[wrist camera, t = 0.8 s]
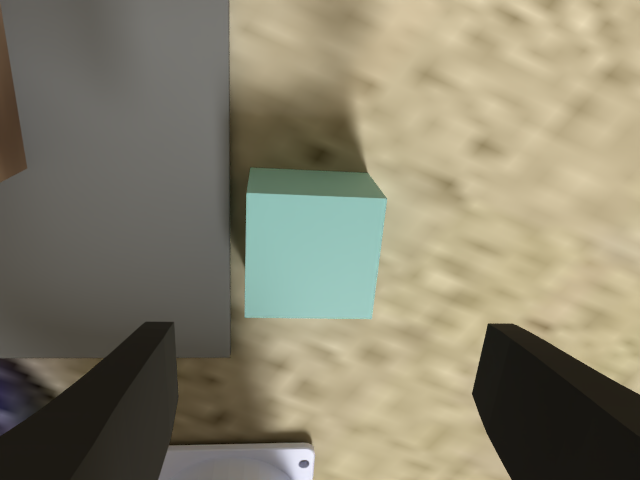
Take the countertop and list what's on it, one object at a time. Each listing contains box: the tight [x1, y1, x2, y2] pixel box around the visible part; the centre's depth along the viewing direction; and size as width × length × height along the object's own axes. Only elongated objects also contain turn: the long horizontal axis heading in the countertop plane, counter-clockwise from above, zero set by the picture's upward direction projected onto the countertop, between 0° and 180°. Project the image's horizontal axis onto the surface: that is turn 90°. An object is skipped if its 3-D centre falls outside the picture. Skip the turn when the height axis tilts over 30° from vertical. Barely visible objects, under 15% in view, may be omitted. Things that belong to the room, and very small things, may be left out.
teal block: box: [245, 167, 387, 319], centre depth 18 cm, size 4×4×4 cm
